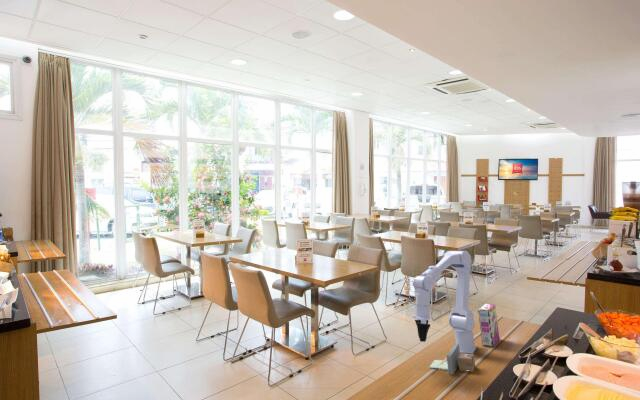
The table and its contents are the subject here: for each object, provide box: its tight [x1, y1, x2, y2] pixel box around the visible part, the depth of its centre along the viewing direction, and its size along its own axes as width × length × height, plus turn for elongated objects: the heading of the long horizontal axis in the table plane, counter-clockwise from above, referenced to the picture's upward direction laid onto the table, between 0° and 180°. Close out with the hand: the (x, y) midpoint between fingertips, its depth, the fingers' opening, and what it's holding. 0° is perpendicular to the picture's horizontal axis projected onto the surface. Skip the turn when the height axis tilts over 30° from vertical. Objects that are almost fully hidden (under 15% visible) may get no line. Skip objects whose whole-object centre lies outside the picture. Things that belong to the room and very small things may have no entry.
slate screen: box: [446, 343, 461, 376], centre depth 151 cm, size 14×2×7 cm, turn 147°
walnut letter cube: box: [458, 353, 476, 373], centre depth 148 cm, size 5×5×5 cm
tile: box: [429, 359, 448, 371], centre depth 154 cm, size 8×8×1 cm
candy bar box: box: [477, 303, 500, 347], centre depth 172 cm, size 11×5×16 cm, turn 141°
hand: (422, 339), depth 153 cm, fingers open, 7 cm apart
